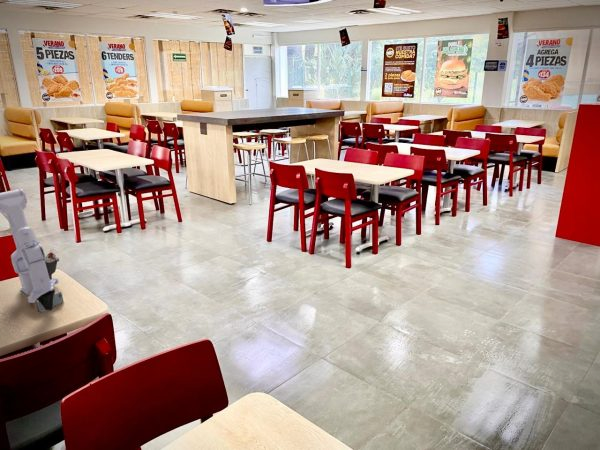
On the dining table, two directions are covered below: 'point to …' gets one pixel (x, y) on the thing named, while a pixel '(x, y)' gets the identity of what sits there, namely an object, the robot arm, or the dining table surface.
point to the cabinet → (37, 300)
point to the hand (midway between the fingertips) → (49, 309)
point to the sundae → (51, 263)
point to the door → (56, 300)
